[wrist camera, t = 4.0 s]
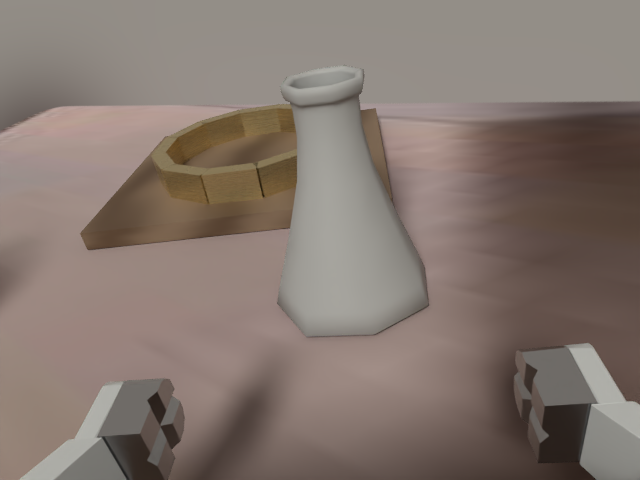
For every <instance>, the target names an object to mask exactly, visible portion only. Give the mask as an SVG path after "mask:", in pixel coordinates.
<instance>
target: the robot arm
mask: <svg viewBox="0 0 640 480" xmlns="http://www.w3.org/2000/svg"><path fill="white" fill-rule="evenodd" d="M515 363H516V366H517V368H518V371H519V372H518V373H517V374H516V375H515V376H514V394H515V400H516V404H517V408H518V411H519V414H520V417H521V419H522V420H524V421H525V422H526V423H528V424H529V425H528V439H529V441H530V444H531V446H532V449H533V452H534V454H535V457H536V460H537V462H538V463H560V462H580V465H581V466H582V467H583V468H584V469H585V470H587V471H588V472H589V473H590V474H591V475H592V476H593V477H594V478H595V479H596V480H640V405H639V404H638V403H636V402H635V401H632V402H627V401H626V400H625V398H624V396H623V395H622V393H621V391H620V390H619V388H618V387H617V385H616V383H615V382H614V380H613V378H612V377H611V375H610V374H609V372H608V370H607V369H606V367H605V365H604V364H603V362H602V361H601V359H600V357H599V356H598V354H597V352H596V351H595V349H594V348H593V346H592V345H590V344H589V343H585V344H574V345H565V346H551V347H540V348H529V349H518V350H517V352H516V358H515ZM173 391H174V387H173V385H172V383H171V381H170V379H147V380H128V381H117V382H107V383H106V384H105V385H104V386H103V387H102V388H101V390H100V392H99V394H98V396H97V398H96V399H95V401H94V403H93V405H92V407H91V409H90V411H89V412H88V414H87V416H86V418H85V420H84V422H83V424H82V426H81V427H80V429H79V431H78V433H77V435H76V437H75V439H71V440H67V441H66V442H65V443H64V444H62V445H61V446H60V447H59V448H57V449H56V450H55V451H54V452H53V453H51V454H50V455H49V456H48V457H46V458H45V459H44V460H43V461H41V462H40V463H39V464H38V465H37V466H35V467H34V468H33V469H32V470H30V471H29V472H28V473H27V474H26V475H24V476H23V477H22V478H21V479H19V480H168V478H169V475H170V472H171V469H172V466H173V463H174V460H175V456H174V454H173V452H172V449H173V448H174V447H175V446H176V445H177V444H178V443H179V442H180V441H181V438H182V434H183V431H184V419H185V417H184V411H183V407H182V405H181V402H180V401H179V400H177V399H176V398H174V397H173V396H172V394H173Z"/></svg>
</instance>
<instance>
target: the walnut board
mask: <svg viewBox="0 0 640 480" xmlns="http://www.w3.org/2000/svg"><path fill="white" fill-rule="evenodd" d="M360 111H361V119H362V125H363V128H364V132H365V135H366V139H367V142H368V145H369V149H370V152H371V156H372V159H373V163H374V165H375V167H376V169H377V171H378V174H379V176H380V178H381V180H382V182H383V184H384V186H385V188H386V191H387V193H388V195H389V197H390V199H391V201H392V195H391V189H390V184H389V178H388V173H387V167H386V162H385V157H384V151H383V146H382V140H381V135H380V129H379V124H378V118H377V113H376V108H375V109H367V110H360ZM167 137H169V136H167ZM167 137H165V138H164V139H163V140H162V141H161V142H160V143H159V144H158V145H157V147H156V148H155V149H154V150H153V151H152V152H151V153H150V155H149V156H148V157H147V158H146V159H145V160H144V161H143V163H142V164H141V165H140V166H139V167H138V168H137V169H136V170H135V172H134V173H133V174H132V175H131V176H130V177H129V178H128V180H127V181H126V182H125V183H124V184H123V185H122V186H121V188H120V189H119V190H118V191H117V192H116V193H115V194H114V195H113V197H112V198H111V199H110V200H109V201H108V202H107V203H106V205H105V206H104V207H103V208H102V209H101V210H100V211H99V213H98V214H97V215H96V216H95V217H94V218H93V219H92V220H91V222H90V223H89V224H88V225H87V226H86V227H85V228H84V230H83V231H82V232H81V233H80V234H81V237H82V239H83V241H84V243H85V245H86V247H87V249H88V250H91V249H100V248H109V247H118V246H127V245H136V244H146V243H155V242H164V241H173V240H182V239H191V238H200V237H209V236H219V235H228V234H237V233H246V232H255V231H264V230H273V229H282V228H290V226H291V219H292V212H293V205H294V198H295V191H296V187H294V188H292V189H289V190H286V191H283V192H280V193H278V194H275V195H272V196H269V197H266V198H264V197H263V199H254V200H245V201H237V202H228V203H220V204H211V205H210V204H208V205H207V204H202V203H197V202H192V201H186V200H181V199H176V198H171V197H170V196H169V194H168V193H167V191H166V190H165V188H164V187H163V185H162V184H161V182H160V180H159V177H158V174H157V171H156V168H155V165H154V162H153V160H152V157H151V155H152V153H153V152H154V151H155V150H156V149H157V148H158V147H159V145H160V144H161V143H162V142H163V141H164V140H165V139H166V138H167ZM295 149H297V135H296V133H290V132H276V133H269V134H261V135H253V136H246V137H243V138H239V139H236V140H233V141H230V142H226V143H223V144H220V145H217V146H213V147H211V148H209V149H207V150H206V151H204V152H202V153H200V154H198V155H197V156H195V157H193V158H191V159H189V160H188V161H186V162H185V163H184V165H186V166H193V167H201V168H216V167H224V166H232V165H240V164H248V163H256V162H259V161H262V160H265V159H268V158H271V157H274V156H277V155H280V154H283V153H286V152H289V151H292V150H295Z"/></svg>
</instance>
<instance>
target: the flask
mask: <svg viewBox="0 0 640 480" xmlns="http://www.w3.org/2000/svg"><path fill="white" fill-rule="evenodd" d="M363 82H364V70H363V69H360V68H355V67H350V66H346V65H343V66H335V67H327V68H319V69H313V70H310V71H306V72H303V73H299V74H296V75H292V76H289V77H286V78H285V80H284V81H283V83H282V84H281V86H280V88H281V93H282V95H283V98H284V99H285V100H286V101H288V102H290V104H291V107H292V111H293V116H294V122H295V129H296V135H297V184H296V191H295V198H294V205H293V212H292V219H291V226H290V232H289V239H288V245H287V250H286V255H285V261H284V266H283V271H282V277H281V282H280V288H279V295H278V301H277V304H278V305H279V306H280V307H281V308H282V310H283V311H284V312H285V313H286V314H287V315H288V316H289V317H290V319H291V320H292V321H293V322H294V323H295V324H296V325H297V327H298V328H299V329H300V330H301V331H302V332H303V333H304V335H305V336H306V337H311V336H345V335H375V334H376V333H378V332H380V331H382V330H384V329H386V328H388V327H389V326H391V325H393V324H395V323H397V322H399V321H401V320H402V319H404V318H406V317H408V316H410V315H412V314H414V313H415V312H417V311H419V310H421V309H423V308H425V307H427V306H428V296H427V286H426V277H425V267H424V265H423V263H422V261H421V259H420V257H419V254H418V252H417V250H416V248H415V247H414V245H413V243H412V241H411V239H410V237H409V235H408V233H407V231H406V229H405V227H404V225H403V224H402V222H401V220H400V218H399V216H398V214H397V212H396V210H395V208H394V206H393V203H392V201H391V199H390V197H389V195H388V193H387V191H386V188H385V186H384V184H383V182H382V180H381V178H380V176H379V174H378V171H377V169H376V167H375V165H374V163H373V159H372V156H371V152H370V149H369V145H368V142H367V139H366V135H365V132H364V128H363V125H362V119H361V111H360V102H359V94H361V92H362V89H363Z"/></svg>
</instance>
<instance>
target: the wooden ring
mask: <svg viewBox="0 0 640 480" xmlns="http://www.w3.org/2000/svg"><path fill="white" fill-rule="evenodd" d="M276 132H290V133H296V129H295V122H294V116H293V111H292V107H291V104H281V105H280V104H278V105H271V106H264V107H256V108H249V109H242V110H240V111H239V110H237V111H234V112H230V113H227V114H223V115H220V116H216V117H213V118H209V119H206V120H202V121H200V122H197V123H195V124H193V125H191V126H189V127H187V128H185V129H183V130H181V131H179V132H177V133H175V134H173V135H171V136H169V137H167V138H166V139H165V140H164V141H163V142H162V143H161V144H160V145H159V147H158V148H157V149H156V150H155V151H154V152H153V153H152V155H151V157H152V160H153V162H154V165H155V168H156V171H157V174H158V177H159V180H160V182H161V184H162V185H163V187H164V188H165V190H166V191H167V193H168V194H169V196H170V197H171V198H176V199H181V200H186V201H192V202H197V203H202V204H207V205H208V204H210V205H211V204H220V203H228V202H237V201H245V200H254V199H263V197H264V198H266V197H269V196H272V195H275V194H278V193H280V192H283V191H286V190H289V189H292V188H294V187H296V184H297V149H295V150H292V151H289V152H286V153H283V154H280V155H277V156H274V157H271V158H268V159H265V160H262V161H259V162H256V163H248V164H240V165H232V166H224V167H216V168H201V167H193V166H186V165H184V163H185V162H186V161H188V160H189V159H191V158H193V157H195V156H197V155H198V154H200V153H202V152H204V151H206V150H207V149H209V148H211V147H213V146H217V145H220V144H223V143H226V142H230V141H233V140H236V139H239V138H243V137H246V136H253V135H261V134H269V133H276Z"/></svg>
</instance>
